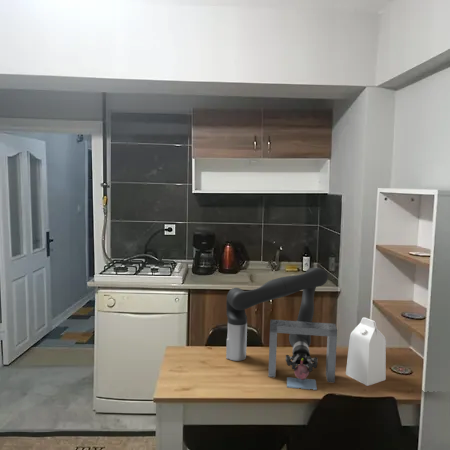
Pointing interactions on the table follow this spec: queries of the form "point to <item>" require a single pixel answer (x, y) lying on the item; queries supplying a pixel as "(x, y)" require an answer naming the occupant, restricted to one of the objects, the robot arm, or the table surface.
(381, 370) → the milk
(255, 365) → the table surface
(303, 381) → the pad
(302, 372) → the vegetable
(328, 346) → the grey arch
